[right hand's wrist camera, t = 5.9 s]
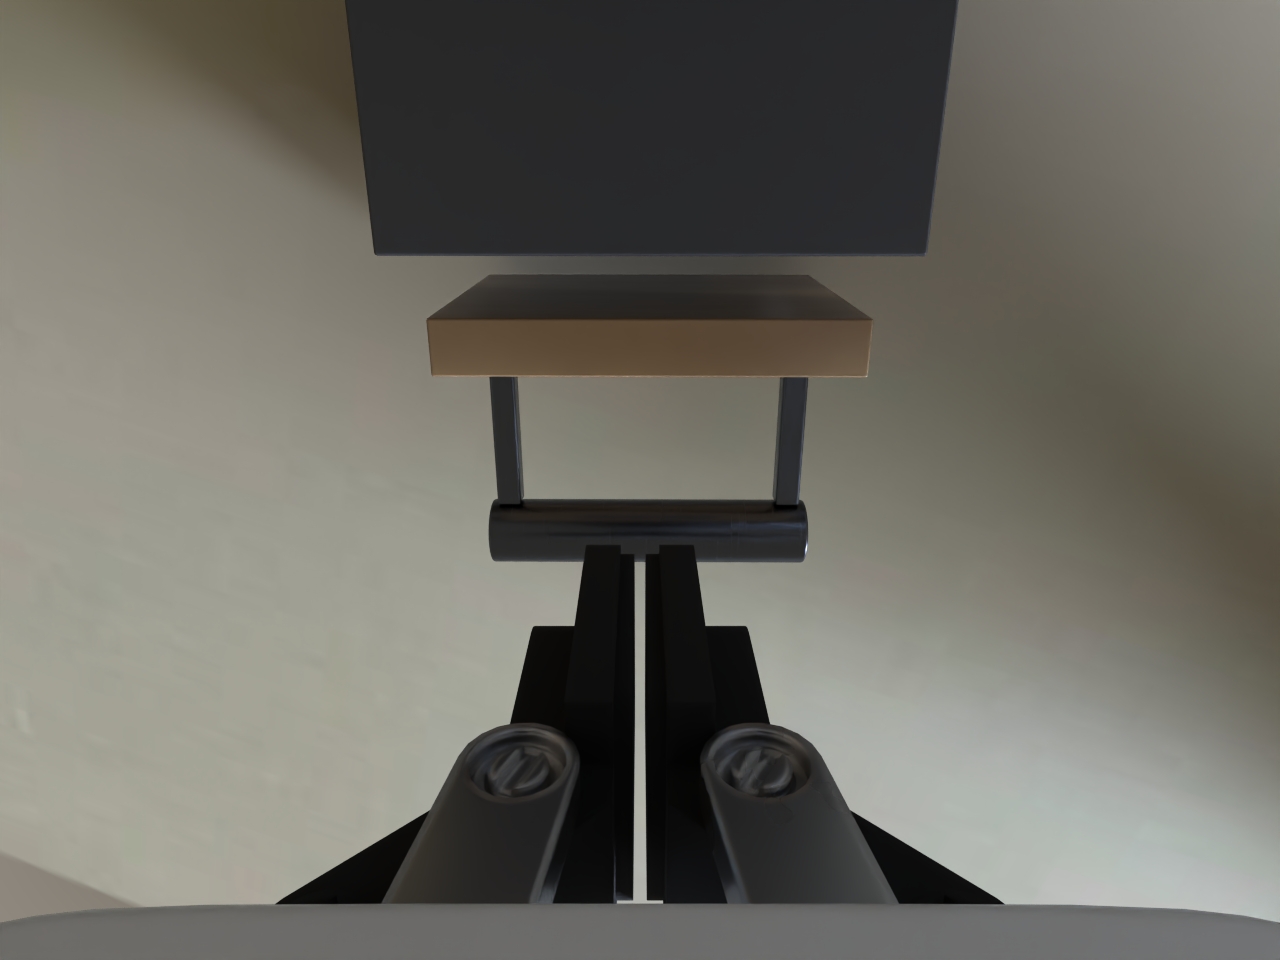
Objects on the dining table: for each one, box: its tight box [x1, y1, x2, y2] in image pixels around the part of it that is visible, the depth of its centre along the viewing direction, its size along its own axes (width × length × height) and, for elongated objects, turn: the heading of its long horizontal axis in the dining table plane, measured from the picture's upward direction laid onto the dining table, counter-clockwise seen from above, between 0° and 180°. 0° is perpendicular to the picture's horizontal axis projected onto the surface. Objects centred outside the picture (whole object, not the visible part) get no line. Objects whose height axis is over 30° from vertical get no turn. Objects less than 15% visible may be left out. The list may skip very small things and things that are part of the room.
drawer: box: [426, 275, 873, 562], centre depth 18 cm, size 20×9×7 cm, turn 0°
